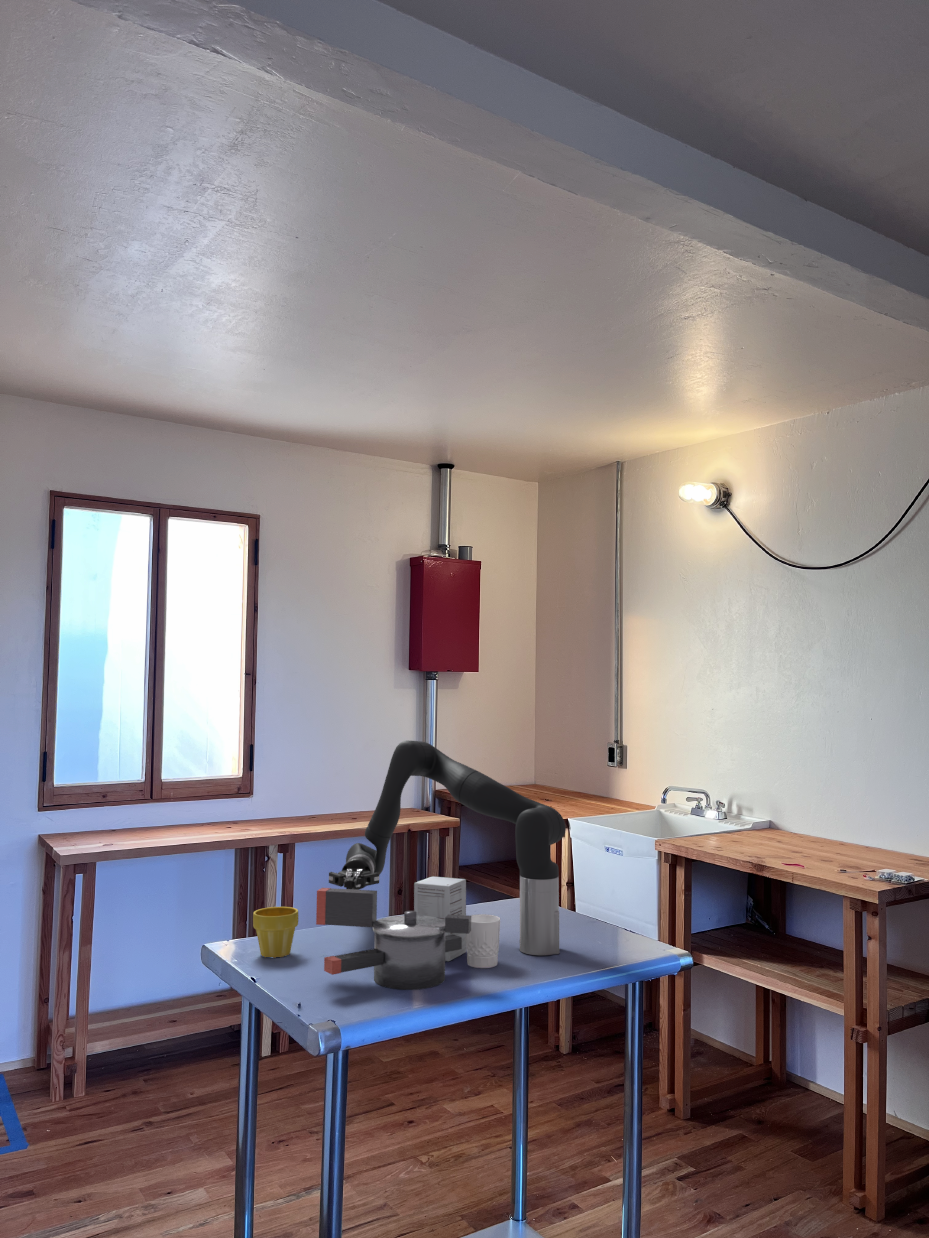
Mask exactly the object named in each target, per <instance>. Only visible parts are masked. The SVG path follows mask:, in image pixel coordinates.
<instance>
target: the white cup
mask: <svg viewBox="0 0 929 1238" xmlns="http://www.w3.org/2000/svg"><path fill="white" fill-rule="evenodd" d="M469 916H471V931H470V933H469V934H466V961H467V962H466V963H467V966H469V967H471V968H477V969H490V968H494V967H496V966H498V959H499V957H498V956H499V952H500V951H499V949H500V935H501V934H500V930H501V929H500V928H501V918H500V916H497V915H493V914H481V913H479V914H471V915H469Z"/></svg>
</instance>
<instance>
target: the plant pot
mask: <svg viewBox="0 0 929 1238" xmlns="http://www.w3.org/2000/svg"><path fill="white" fill-rule="evenodd" d="M298 925H299V910H298V908H295V907H291V906H271V907H270V906H269V907H265V908H260V909H257V910H254V911H253V915H252V926H253V929H255V931H256V936H257V941H258V946H259V951H260V953H259V954H260V956H261V955H262V956H261V957H263V956H264V957H263V958H266V957H273V958H272V959H277V958H276V957H280V958H284V956H285V957H287V955H288V956H289V955H290V954H291V951H292V947H293V941H294V936H295V932H296V927H298Z"/></svg>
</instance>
